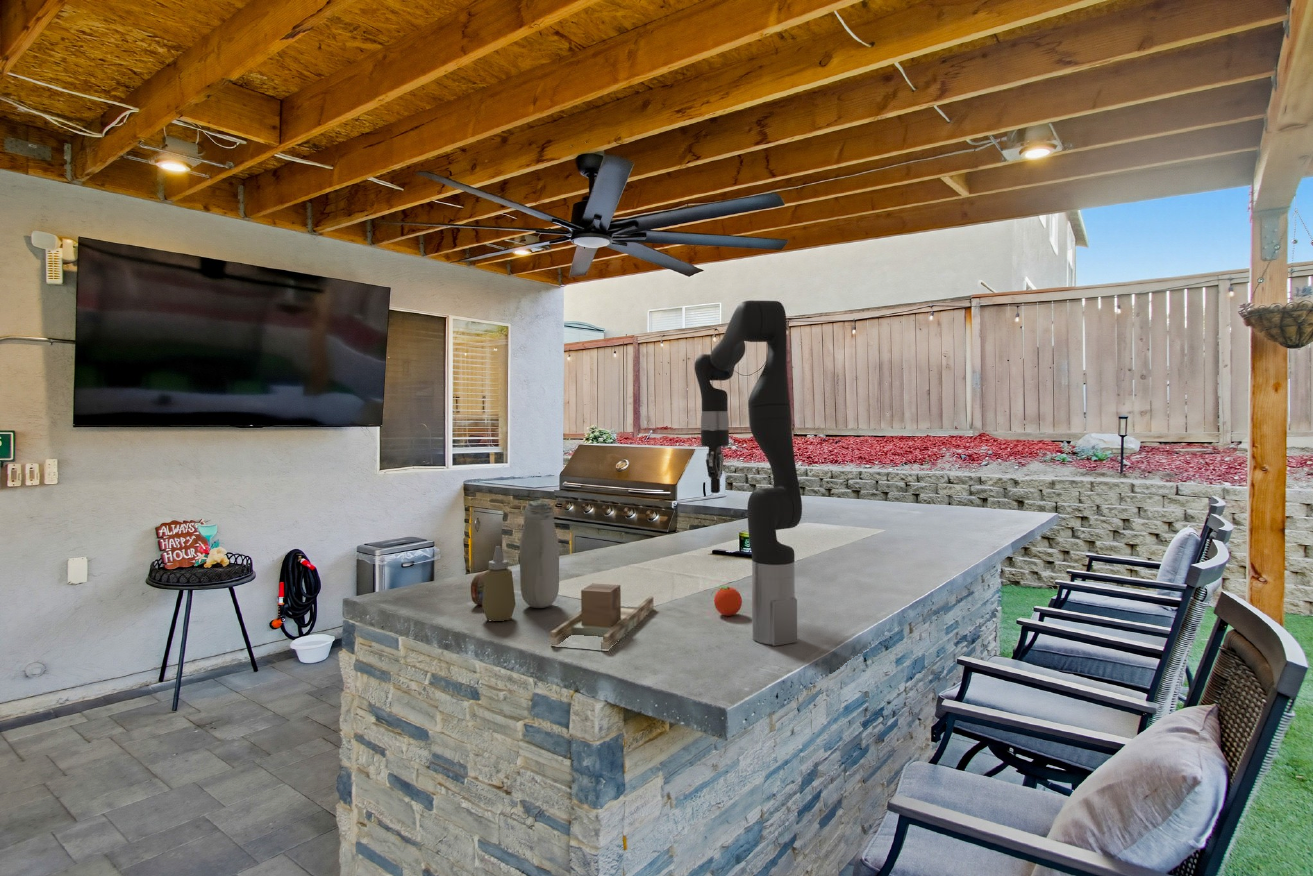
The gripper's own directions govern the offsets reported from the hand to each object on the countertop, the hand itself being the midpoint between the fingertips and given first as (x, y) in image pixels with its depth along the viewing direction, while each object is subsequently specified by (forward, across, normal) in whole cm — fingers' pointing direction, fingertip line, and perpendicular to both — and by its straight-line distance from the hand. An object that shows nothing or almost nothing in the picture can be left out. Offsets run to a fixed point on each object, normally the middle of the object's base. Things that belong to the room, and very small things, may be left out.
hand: (715, 492), depth 182 cm
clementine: (+29, +14, +5) cm, 33 cm away
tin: (+29, +16, -60) cm, 68 cm away
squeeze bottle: (+29, +31, -48) cm, 64 cm away
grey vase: (+29, +18, -44) cm, 55 cm away
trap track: (+29, +30, -20) cm, 47 cm away
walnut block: (+27, +34, -20) cm, 48 cm away
